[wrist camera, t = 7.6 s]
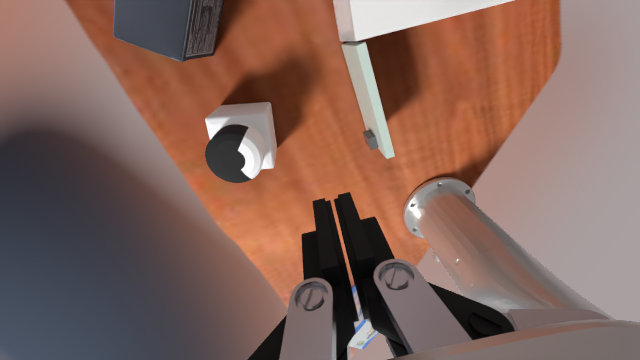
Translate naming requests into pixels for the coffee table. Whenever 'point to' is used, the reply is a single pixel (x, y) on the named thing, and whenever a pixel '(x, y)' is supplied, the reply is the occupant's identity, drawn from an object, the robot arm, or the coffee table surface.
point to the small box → (169, 26)
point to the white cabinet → (396, 14)
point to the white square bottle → (241, 141)
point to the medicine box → (361, 327)
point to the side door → (368, 97)
